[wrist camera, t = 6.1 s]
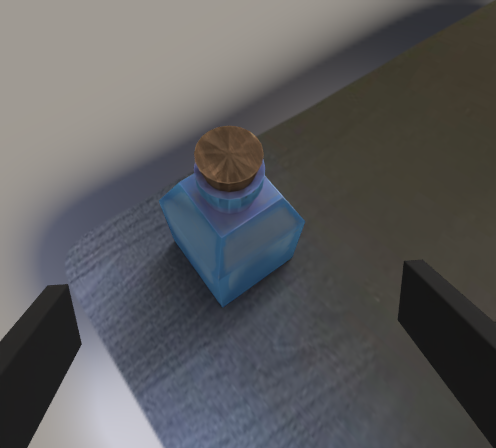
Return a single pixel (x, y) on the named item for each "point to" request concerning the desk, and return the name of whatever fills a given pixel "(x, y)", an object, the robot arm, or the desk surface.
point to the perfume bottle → (231, 214)
